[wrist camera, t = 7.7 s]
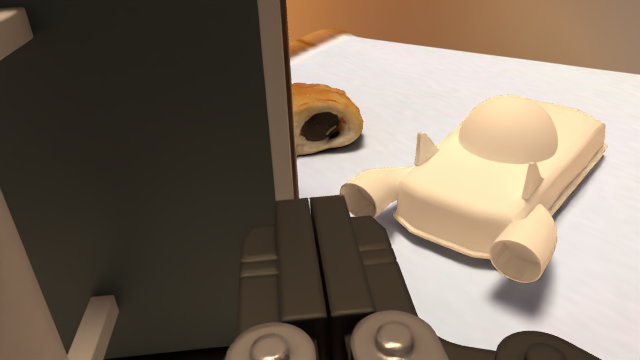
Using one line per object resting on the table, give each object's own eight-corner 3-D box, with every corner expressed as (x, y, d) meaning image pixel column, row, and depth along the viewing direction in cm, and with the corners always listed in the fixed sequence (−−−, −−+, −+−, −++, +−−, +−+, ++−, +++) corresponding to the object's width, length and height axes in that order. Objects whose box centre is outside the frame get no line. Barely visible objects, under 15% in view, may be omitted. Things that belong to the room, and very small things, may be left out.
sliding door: (318, 485, 15) (289, 27, 8) (-19, 527, 14) (-335, 65, 8) (302, 326, 20) (277, -28, 14) (56, 352, 20) (-92, -9, 13)
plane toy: (633, 148, 36) (658, 65, 33) (530, 318, 22) (557, 204, 19) (488, 114, 41) (498, 42, 39) (338, 234, 28) (336, 137, 25)
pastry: (262, 111, 44) (258, 67, 42) (339, 103, 45) (338, 60, 43) (279, 161, 36) (275, 109, 34) (372, 149, 37) (373, 98, 35)
